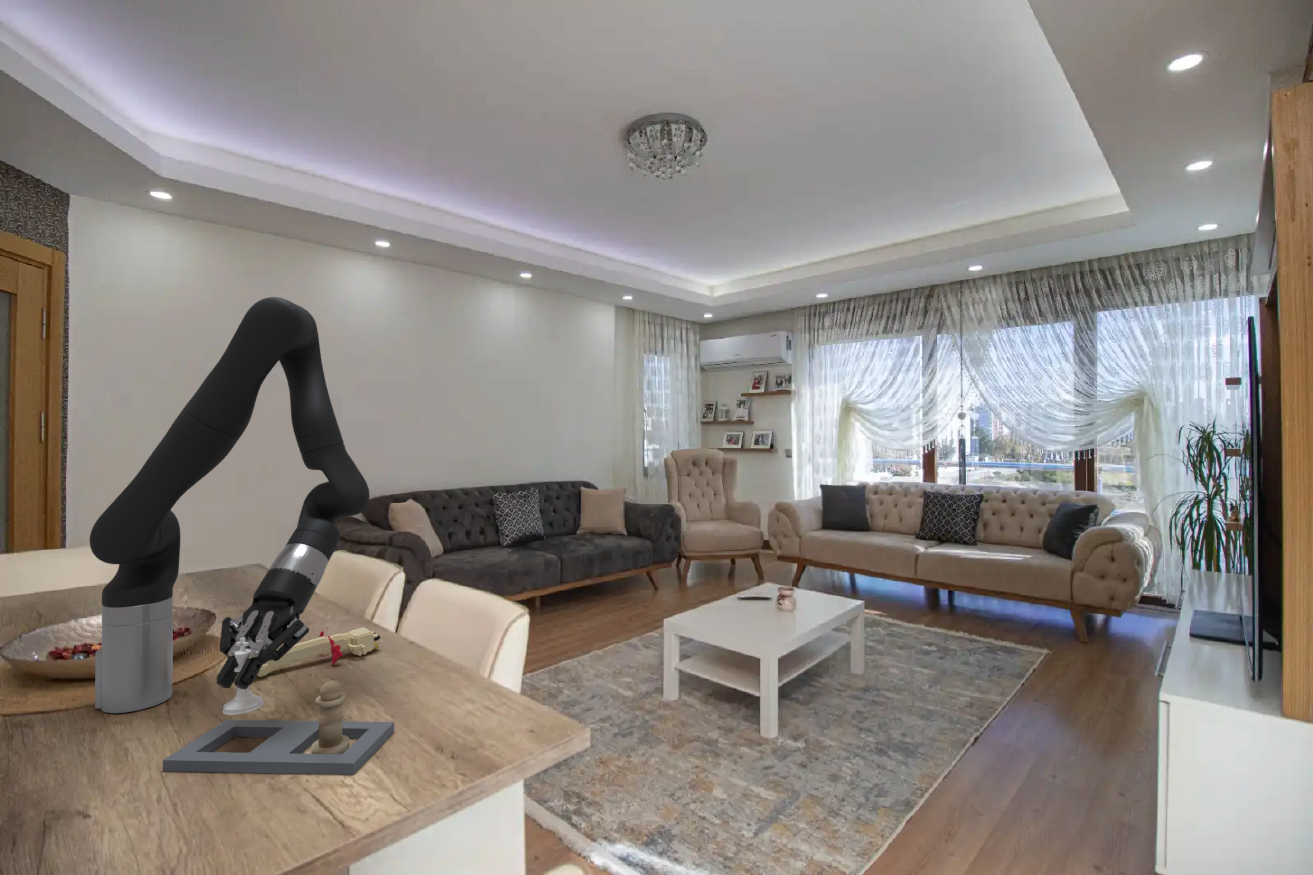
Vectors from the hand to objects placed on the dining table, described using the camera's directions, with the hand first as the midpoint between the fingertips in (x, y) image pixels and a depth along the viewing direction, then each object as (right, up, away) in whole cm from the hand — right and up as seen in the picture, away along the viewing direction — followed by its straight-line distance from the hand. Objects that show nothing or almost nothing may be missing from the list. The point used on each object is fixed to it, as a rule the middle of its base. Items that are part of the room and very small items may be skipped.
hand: (231, 686), depth 87 cm
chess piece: (0, -4, +2) cm, 5 cm away
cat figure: (-8, -10, +36) cm, 38 cm away
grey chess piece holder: (+7, -10, +2) cm, 12 cm away
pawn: (+13, -10, +2) cm, 17 cm away
